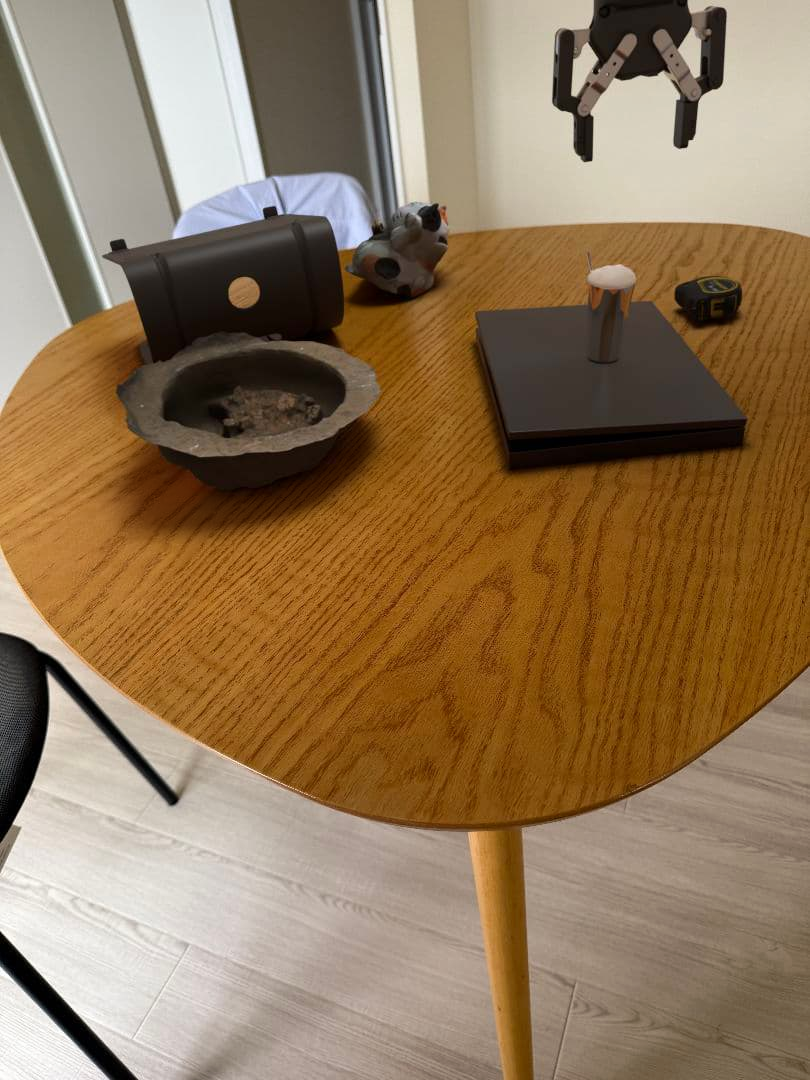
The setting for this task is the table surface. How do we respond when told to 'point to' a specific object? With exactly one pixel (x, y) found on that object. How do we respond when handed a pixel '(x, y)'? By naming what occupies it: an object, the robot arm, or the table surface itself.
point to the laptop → (601, 439)
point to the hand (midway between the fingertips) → (632, 153)
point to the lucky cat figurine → (404, 250)
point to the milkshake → (608, 310)
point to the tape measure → (709, 297)
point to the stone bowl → (247, 406)
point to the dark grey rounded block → (215, 262)
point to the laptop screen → (597, 376)
